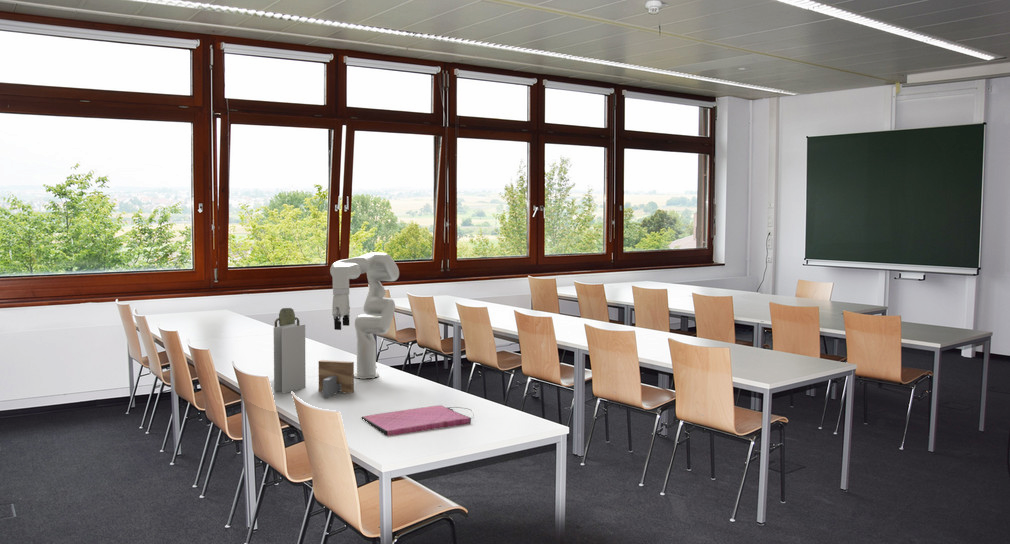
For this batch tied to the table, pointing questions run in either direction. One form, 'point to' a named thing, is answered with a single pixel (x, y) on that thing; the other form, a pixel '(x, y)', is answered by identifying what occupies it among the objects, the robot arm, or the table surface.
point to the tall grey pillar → (289, 358)
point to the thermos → (286, 317)
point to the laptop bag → (416, 419)
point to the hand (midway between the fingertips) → (342, 327)
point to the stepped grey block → (330, 386)
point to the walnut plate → (337, 374)
